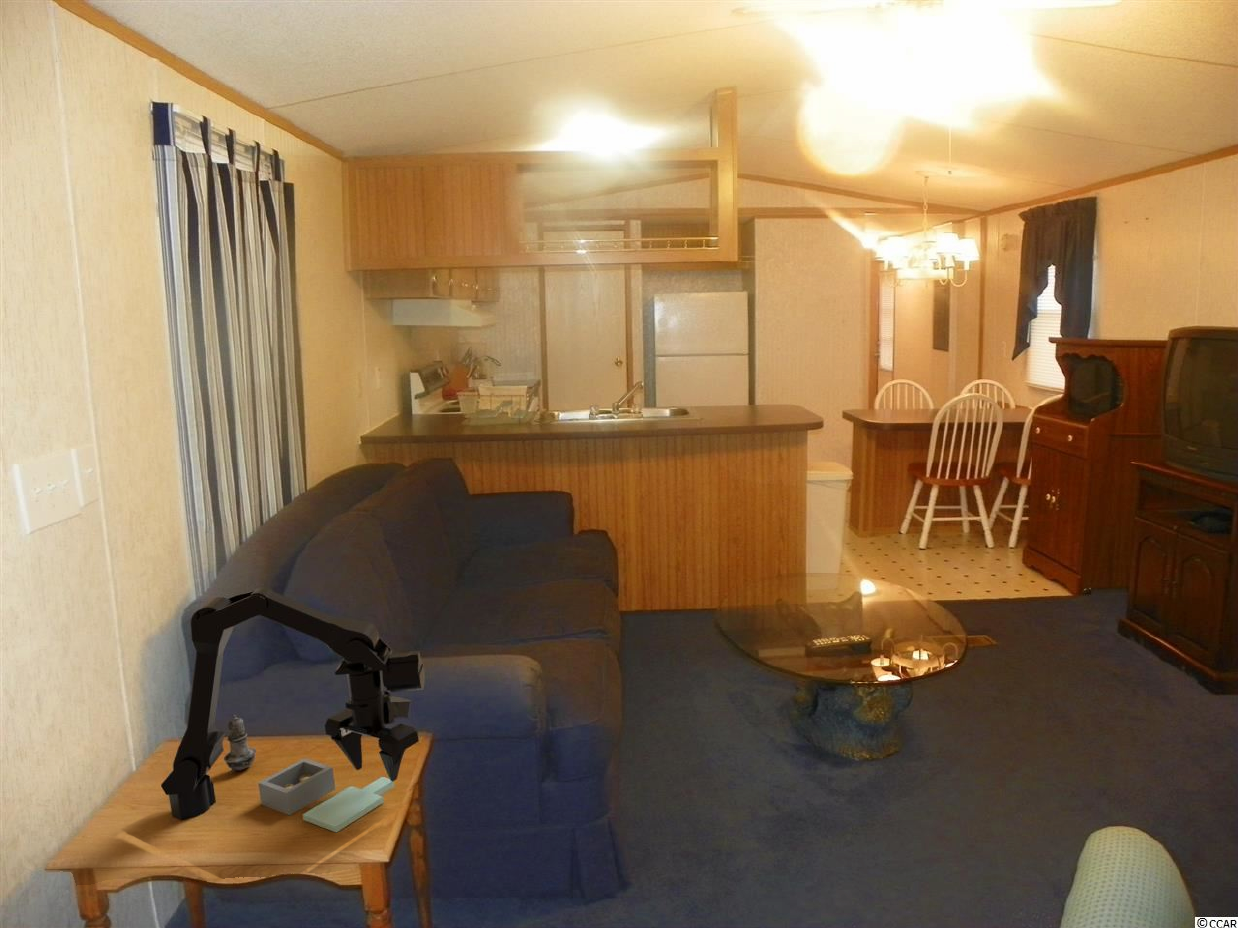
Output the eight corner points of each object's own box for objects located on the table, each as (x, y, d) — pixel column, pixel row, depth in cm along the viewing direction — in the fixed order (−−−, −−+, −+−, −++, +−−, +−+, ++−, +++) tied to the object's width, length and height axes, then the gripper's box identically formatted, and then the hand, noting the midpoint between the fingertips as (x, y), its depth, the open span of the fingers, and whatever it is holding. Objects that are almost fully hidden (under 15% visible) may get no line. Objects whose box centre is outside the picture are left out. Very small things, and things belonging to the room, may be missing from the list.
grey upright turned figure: (264, 767, 180) (256, 710, 178) (238, 781, 175) (230, 723, 173) (246, 761, 183) (237, 705, 181) (220, 775, 178) (211, 717, 176)
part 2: (306, 795, 166) (304, 781, 165) (298, 792, 167) (296, 778, 167) (317, 789, 168) (315, 775, 167) (309, 786, 169) (307, 772, 169)
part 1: (288, 806, 163) (286, 791, 162) (279, 803, 164) (277, 788, 164) (299, 799, 165) (297, 785, 164) (290, 796, 166) (288, 782, 165)
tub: (290, 819, 160) (286, 792, 159) (262, 808, 164) (258, 782, 163) (335, 792, 168) (332, 767, 167) (307, 782, 172) (304, 758, 172)
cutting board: (337, 837, 153) (335, 826, 153) (304, 824, 158) (302, 814, 157) (405, 793, 166) (404, 783, 165) (373, 783, 171) (371, 773, 170)
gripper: (436, 685, 164) (444, 765, 167) (365, 669, 175) (375, 745, 177) (389, 709, 155) (399, 794, 158) (318, 691, 165) (328, 770, 168)
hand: (376, 774), depth 165 cm, fingers open, 9 cm apart
